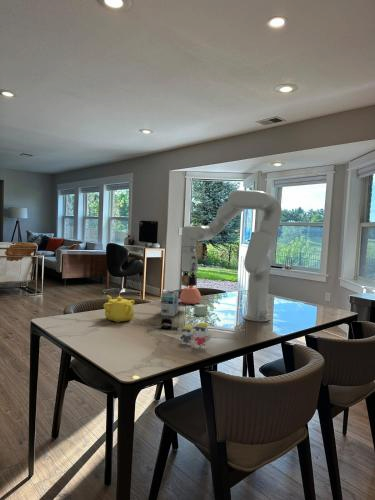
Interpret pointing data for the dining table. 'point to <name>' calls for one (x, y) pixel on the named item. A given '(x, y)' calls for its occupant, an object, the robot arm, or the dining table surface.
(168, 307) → the light bulb box
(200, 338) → the toy figures
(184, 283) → the block
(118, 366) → the dining table surface
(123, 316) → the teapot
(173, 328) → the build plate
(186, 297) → the sugar bowl
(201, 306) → the cube
